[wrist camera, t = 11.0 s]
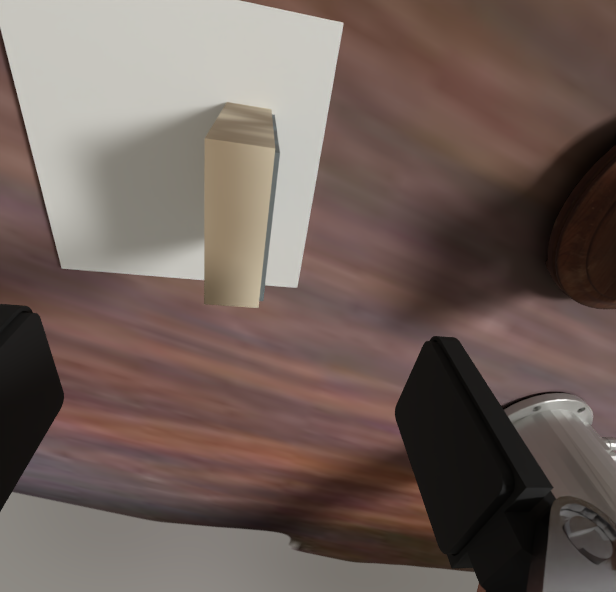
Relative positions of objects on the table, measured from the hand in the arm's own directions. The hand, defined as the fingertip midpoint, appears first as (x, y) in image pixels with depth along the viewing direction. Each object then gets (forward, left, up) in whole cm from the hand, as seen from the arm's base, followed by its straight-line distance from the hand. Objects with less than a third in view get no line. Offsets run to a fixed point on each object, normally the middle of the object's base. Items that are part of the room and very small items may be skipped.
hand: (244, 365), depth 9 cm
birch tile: (+1, 0, -16) cm, 16 cm away
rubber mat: (+4, 0, -16) cm, 17 cm away
